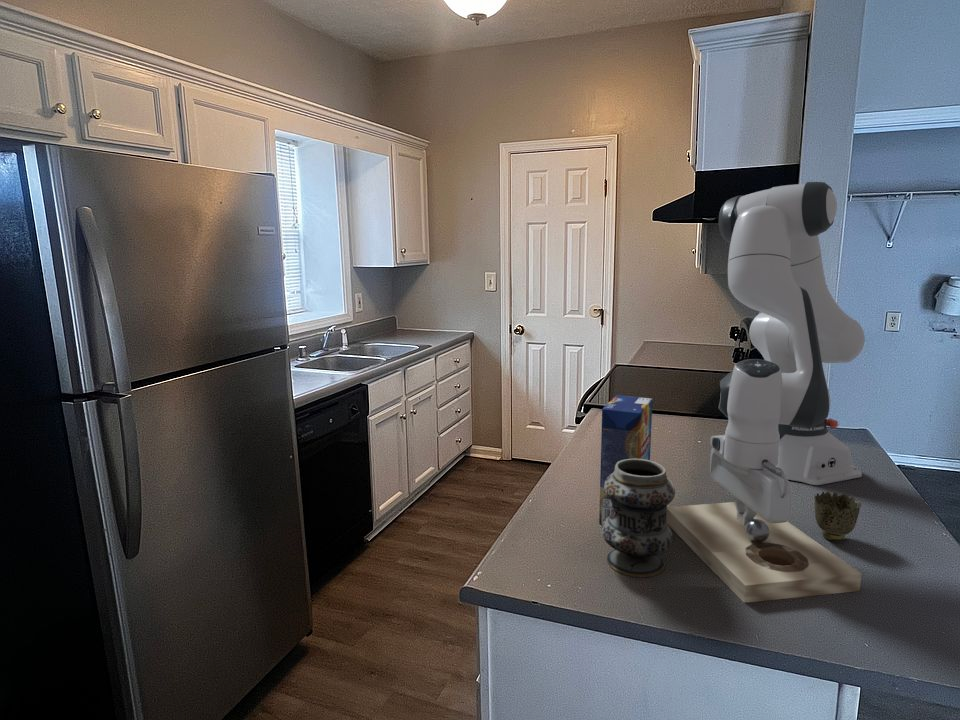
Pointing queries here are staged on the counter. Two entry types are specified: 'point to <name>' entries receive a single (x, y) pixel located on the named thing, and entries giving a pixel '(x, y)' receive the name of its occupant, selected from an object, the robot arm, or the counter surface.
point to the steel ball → (757, 530)
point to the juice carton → (623, 438)
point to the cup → (836, 515)
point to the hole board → (761, 555)
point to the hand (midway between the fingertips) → (744, 523)
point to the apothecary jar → (638, 517)
